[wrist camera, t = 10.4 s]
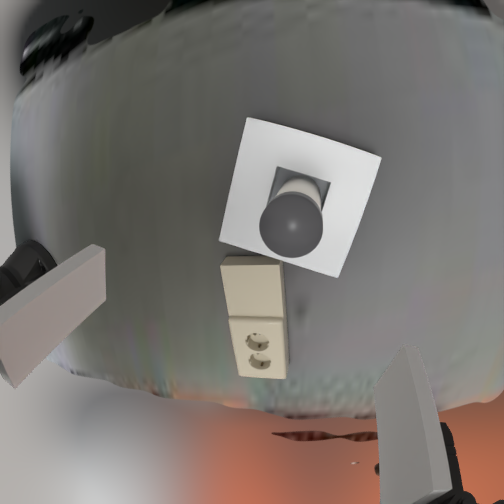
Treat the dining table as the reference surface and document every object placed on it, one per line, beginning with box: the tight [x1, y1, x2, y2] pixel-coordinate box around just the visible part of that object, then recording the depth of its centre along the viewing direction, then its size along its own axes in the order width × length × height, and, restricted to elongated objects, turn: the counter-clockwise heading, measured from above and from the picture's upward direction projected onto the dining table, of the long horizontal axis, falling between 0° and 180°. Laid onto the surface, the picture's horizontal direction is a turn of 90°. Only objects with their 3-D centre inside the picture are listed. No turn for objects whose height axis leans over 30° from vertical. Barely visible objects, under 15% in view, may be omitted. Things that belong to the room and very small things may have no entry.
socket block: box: [219, 117, 381, 278], centre depth 32 cm, size 14×14×4 cm
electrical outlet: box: [220, 256, 289, 379], centre depth 40 cm, size 7×4×18 cm
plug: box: [259, 175, 323, 258], centre depth 28 cm, size 5×5×12 cm
